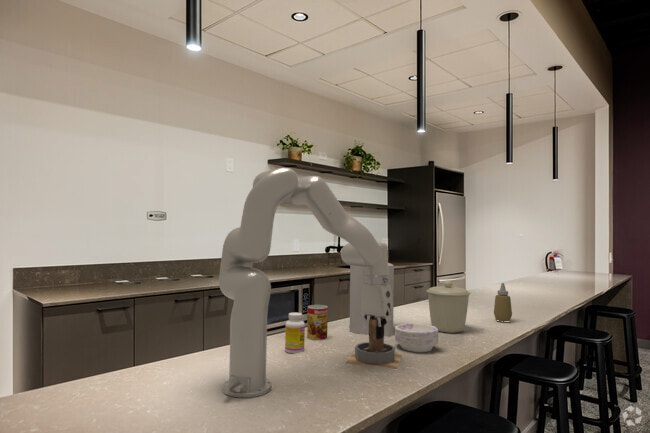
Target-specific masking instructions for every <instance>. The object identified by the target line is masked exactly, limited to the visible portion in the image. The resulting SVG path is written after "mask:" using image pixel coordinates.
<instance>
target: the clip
mask: <svg viewBox="0 0 650 433" xmlns="http://www.w3.org/2000/svg"><path fill="white" fill-rule="evenodd" d="M363 351H367V352H369V347H368V348H365V349H363ZM375 352H376V353H379V352H387V349H382V350H378V351H375Z"/></svg>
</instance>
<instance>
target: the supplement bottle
mask: <svg viewBox="0 0 650 433" xmlns="http://www.w3.org/2000/svg"><path fill="white" fill-rule="evenodd" d="M302 318H303V314H302V312H289V313H288V320H287V321H286V322H285V331H284V332H285V336H284V337H285V338H284V340H285V342H284V348H285V349H284V350H285V352H287V353H288V354H297V353H298V354H299V353H302V352H304V351H305V335H306V334H305V333H306V332H305V331H306V330H305V328H306V324H305V321H303V320H302Z"/></svg>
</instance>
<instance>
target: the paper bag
mask: <svg viewBox="0 0 650 433" xmlns="http://www.w3.org/2000/svg"><path fill="white" fill-rule="evenodd" d="M349 266H350V268H349V269H350V270H349V274H350V276H349V280H350V281H349V333H351V332H352V334H355V335H367V336H369V324H367V321H366V319H365V317H363V316H362V315H361V310H362V308H361V301H362V290H363V285H364V284H365V267H360V266H351V265H349ZM388 278H389V279H390V282H389V283H388V285H390V288H391V292H392V300H393V305H395V304H394V302H395V301H394V297H395V296H394V290H395V289H394V288H395V286H394V285H395V284H394V283H395V266H394V264H392V263H389V262H388ZM376 317H377V316H375V318H376ZM392 317H393V318H394V313H393V314H392ZM386 318H387V315H386ZM391 336H394V319H393V320H391V321H388V322H387V323H386V325H385V326H384V337H391Z"/></svg>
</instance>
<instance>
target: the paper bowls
mask: <svg viewBox="0 0 650 433" xmlns="http://www.w3.org/2000/svg"><path fill="white" fill-rule="evenodd" d="M394 341H395V342H397V343H398V344H399V345H400V348H401V349H403V350H405V351H408V352H413V353H426V352H431V351H432V349H433V347H434V346H435V345H438V344H439V331H438V328H436V327H434V326H432V324H431V325H430V324H423V323H401V324H397V325H395V326H394Z"/></svg>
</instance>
